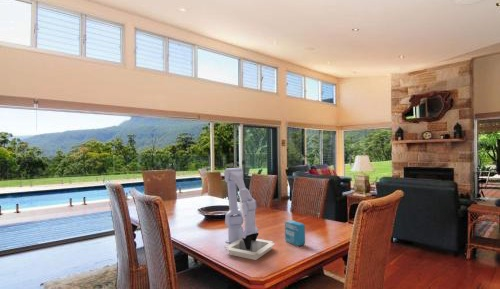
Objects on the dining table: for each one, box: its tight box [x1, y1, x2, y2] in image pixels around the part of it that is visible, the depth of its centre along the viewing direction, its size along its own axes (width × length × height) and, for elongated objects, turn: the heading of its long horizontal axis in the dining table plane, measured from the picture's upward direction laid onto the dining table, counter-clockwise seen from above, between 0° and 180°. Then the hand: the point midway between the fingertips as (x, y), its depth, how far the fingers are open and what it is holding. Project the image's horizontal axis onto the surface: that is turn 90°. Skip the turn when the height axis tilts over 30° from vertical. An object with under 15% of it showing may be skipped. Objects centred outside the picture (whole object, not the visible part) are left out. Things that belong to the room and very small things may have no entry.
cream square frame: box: [224, 238, 276, 261], centre depth 154 cm, size 22×21×4 cm
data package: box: [284, 220, 306, 247], centre depth 167 cm, size 12×4×12 cm, turn 36°
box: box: [240, 239, 261, 252], centre depth 154 cm, size 4×11×5 cm, turn 59°
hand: (250, 247), depth 154 cm, fingers closed on box, 4 cm apart
